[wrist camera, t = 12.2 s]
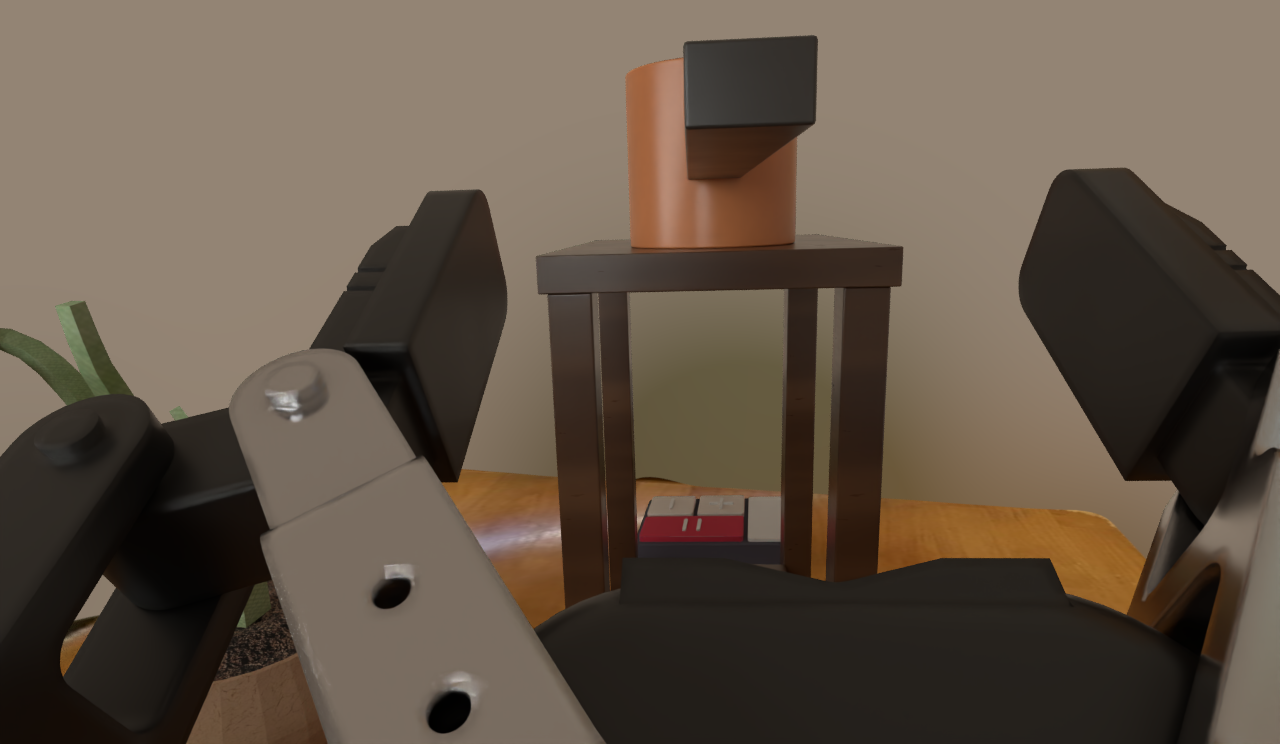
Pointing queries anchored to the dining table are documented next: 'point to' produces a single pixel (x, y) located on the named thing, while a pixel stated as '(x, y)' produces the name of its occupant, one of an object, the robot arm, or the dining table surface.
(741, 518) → the calculator
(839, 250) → the plant stand
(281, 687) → the potted plant
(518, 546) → the dining table surface
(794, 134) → the dipper cup
